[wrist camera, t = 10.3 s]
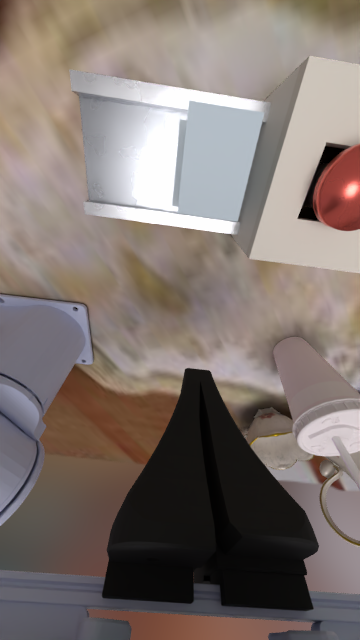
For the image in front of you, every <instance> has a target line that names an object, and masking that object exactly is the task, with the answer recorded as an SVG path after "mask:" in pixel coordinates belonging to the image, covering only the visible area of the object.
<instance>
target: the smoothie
mask: <svg viewBox="0 0 360 640" xmlns="http://www.w3.org/2000/svg"><path fill="white" fill-rule="evenodd" d="M273 355H274V358H275V362H276V365H277V368H278V372H279V375H280V379H281V382H282V385H283V389H284V392H285V395H286V399H287V402H288V405H289V409H290V413H291V416H292V419H293V422H294V424H293V428H292V432H293V434H294V437H295V438H296V440H297V443H298V445H299V447H300V448H301V449H303V450H304V451H306V452H308V453H310V454H314V455H319V456H340V455H341V457H342V459H343V461H344V462H345V464H346V466H347V468H348V470H349V471H350V473H351V475H352V477H353V479H354V480H355V482H356V484H357V486H358V488H359V489H360V471H359V469H358V468H357V466H356V464H355V463H354V461H353V459H352V457H351V456H350V454H351V453H355V452H358V451H360V394H359V393H358V392H357V391H356V390H355V389H354V388H353V387H352V386H351V385H350V384H349V383H348V382H347V381H346V380H345V379H344V378H343V377H342V376H341V375H340V374H339V373H338V372H337V371H336V370H335V369H334V368H333V367H332V366H331V365H330V364H329V363H328V362H327V361H326V360H325V359H324V358H323V357H322V356H321V355H320V354H319V353H318V352H317V351H315V350H314V349H313V348H312V347H311V346H310V345H309V344H308V343H307V342H306V341H305V340H304V339H303V338H300V337H289V338H286V339H283V340H282V341H280V342H279V343H278V344H277V345H276V346H275V347H274V350H273Z"/></svg>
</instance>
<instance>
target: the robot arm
mask: <svg viewBox="0 0 360 640" xmlns="http://www.w3.org/2000/svg"><path fill="white" fill-rule="evenodd" d="M2 299H3V300H4V301H3V300H2ZM74 307H76V308H78V310H77V309H75V308H74ZM93 361H94V359H93V352H92V344H91V336H90V328H89V321H88V313H87V307H86V306H85V305H84V304H80V303H71V302H63V301H54V300H46V299H37V298H28V297H20V296H11V295H3V294H0V525H1V524H3V523H4V522H5V521H6V520H7V519H8V518H9V517H10V516H11V515H12V514H13V513H14V512H15V511H16V510H17V508H18V507H19V506H20V505H21V504H22V502H23V501H24V500H25V498H26V497H27V496H28V494H29V493H30V491H31V489H32V488H33V486H34V485H35V483H36V480H37V479H38V477H39V474H40V471H41V469H42V466H43V462H44V455H45V453H44V447H43V445H42V443H41V442H40V441H39V439H40V437H41V435H42V433H43V432H44V430H45V428H46V425H45V424H44V423H43V421H42V418H43V416H44V414H45V413H46V411H47V409H48V408H49V406H50V404H51V403H52V401H53V399H54V398H55V396H56V394H57V393H58V391H59V389H60V387H61V386H62V384H63V382H64V381H65V379H66V377H67V376H68V374H69V372H70V371H71V369H72V367H73V366H74V364H75V363H79V364H92V363H93ZM318 547H319V545H318V542H317V539H316V537H315V534H314V531H313V528H312V526H311V524H310V522H309V519H308V517H307V515H306V513H305V511H304V510H303V509H302V508H301V507H300V506H299V505H298V503H297V502H295V500H294V499H293V498H292V497H291V496H290V495H289V494H288V492H287V491H286V490H285V489H284V488H283V487H282V486H281V485H280V483H279V482H278V481H277V480H276V479H275V477H274V476H273V475H272V474H271V473H270V471H269V470H268V469H267V468H266V466H265V465H264V464H263V462H262V461H261V460H260V459H259V457H258V456H257V455H256V453H255V452H254V451H253V449H252V448H251V446H250V445H249V444H248V442H247V441H246V439H245V438H244V436H243V435H242V433H241V432H240V430H239V428H238V427H237V425H236V423H235V422H234V420H233V418H232V417H231V415H230V413H229V411H228V409H227V408H226V406H225V404H224V402H223V400H222V398H221V396H220V393H219V391H218V389H217V387H216V384H215V382H214V380H213V377H212V374H211V372H210V371H209V370H199V369H190V368H187V369H185V373H184V378H183V383H182V388H181V394H180V397H179V400H178V403H177V405H176V408H175V410H174V413H173V415H172V417H171V420H170V422H169V424H168V426H167V428H166V430H165V432H164V434H163V436H162V438H161V440H160V442H159V444H158V446H157V447H156V449H155V451H154V453H153V454H152V456H151V458H150V459H149V461H148V463H147V464H146V466H145V468H144V469H143V471H142V473H141V474H140V476H139V477H138V479H137V480H136V482H135V483H134V485H133V486H132V488H131V489H130V491H129V492H128V494H127V496H126V498H125V500H124V502H123V504H122V506H121V508H120V510H119V512H118V514H117V516H116V519H115V521H114V523H113V526H112V529H111V533H110V538H109V542H108V547H107V552H108V556H109V562H108V567H107V572H106V577H95V576H80V575H66V574H65V575H64V574H50V573H36V572H21V571H6V570H0V640H130V636H131V626H130V625H129V622H128V621H122V620H113V619H104V618H89V613H88V611H87V609H102V610H119V611H134V612H151V613H167V614H184V615H199V616H200V615H201V616H217V617H233V618H250V619H265V620H281V621H298V622H313V624H312V627H311V631H292V630H289V631H287V632H281V633H270V634H269V636H268V638H269V640H360V594H346V593H331V592H317V591H308V587H307V584H306V580H305V577H304V575H307V570H306V567H305V564H304V561H303V560H304V559H305V558H307V557H309V556H311V555H313V554H315V553H316V552H317V551H318ZM193 572H194V573H193Z"/></svg>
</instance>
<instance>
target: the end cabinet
mask: <svg viewBox="0 0 360 640" xmlns="http://www.w3.org/2000/svg"><path fill="white" fill-rule="evenodd" d="M264 102H268V103H271V107H270V111H269V115H268V118H267V122H266V123H265V124H263V125H262V126H261V130H260V134H259V138H258V142H257V146H256V150H255V154H254V158H253V162H252V166H251V170H250V174H249V178H248V182H247V186H246V190H245V194H244V198H243V202H242V207H241V211H240V215H239V219H238V221H239V222H240V223H241V224H240V228H239V232H238V235H235V234H232V235H231V236H232V237H233V239H234V240H235V241H236V243H237V244H238V245H239V246H240V248H241V249H242V250H243V252H244V253H245V254H246V255H247V257H248V258H249V259H255V260H263V261H270V262H278V263H286V264H293V265H301V266H309V267H316V268H324V269H331V270H339V271H347V272H354V273H360V229H358V230H354V231H341V230H337V229H334V228H331V227H329V226H326V225H324V224H323V223H321V222H320V221H319V220H311V219H304V218H298V216H299V213H300V210H301V208H302V205H303V203H304V200H305V197H306V195H307V192H308V189H309V187H310V184H311V182H312V179H313V176H314V174H315V171H316V169H317V166H318V163H319V161H320V158H321V156H322V153H323V150H324V148H325V146H331V147H337V148H344V149H347V148H349V147H351V146H353V145H356V144H359V143H360V65H359V64H354V63H348V62H343V61H337V60H331V59H326V58H320V57H314V56H309V57H308V58H307V59H306V60H305V61H304V62H303V63H302V64H301V65H300V66H299V67H298V68H297V69H296V70H295V71H294V72H293V73H292V74H291V75H290V76H289V77H288V78H287V79H286V80H285V81H284V82H283V83H282V84H281V85H280V86H279V87H278V88H277V89H276V90H275V91H274V92H273V93H271V94H270V95H269V96H268V97H267V98H266V99H265V100H264Z"/></svg>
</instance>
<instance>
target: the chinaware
mask: <svg viewBox="0 0 360 640" xmlns="http://www.w3.org/2000/svg"><path fill="white" fill-rule="evenodd" d="M279 413H280V412H277V411H276V410H275V409H273V408H272V407H271V408H266V409H261V410H260V409H258V412H257V414H256V416H254V418H255V419H254V420H253V422H252V423H251V425H250V427H249V430H248V434H246V435H244V438H246V437H247V442H248V444H249V445H250V446H251V448H252V449H253V451H254V452H255V453H256V455H257V456H258V457H259V459H260V460H261V461H262V462H263V464H264V465H265V463H266V465H267V466H269V467H271V468H273V469H279V470H285V469H287V468H290V467H292V466H293V465H294V463H296V462H297V460H298V461H308V460H310V459H313V458H314V454H310V453H308V452H306V451H304V450H303V449H301V448H300V447H299V445H298V443H297V440H296V438H295V437H294V434H293V432H292V428H293V424H294V422H293V420H291V419H290V418H288V417H287V416H285V415H282V414H279ZM350 456H351V457H352V459H353V461H354V463H355V464H356V466H357V468H358V469H359V471H360V451H358V452H355V453H351V454H350ZM325 457H326V458H328V459H329V460H331V461H332V462H333V463H335V464H336V465H338V466H339V467H338V466H336V465H334V464H333V463H332V462H331V461H328V460H324V461H322V462H321V464H320V472H321V474H322V475H323V476H325V477H327V478H328V479H327V480H326V481H325V482H324V483H323V485H322V487H321V490H320V505H321V509H322V512H323V515H324V517H325V519H326V521H327V522H328V524H329V525H330V527H331V528H332V529H333V531H335V533H336V534H337V535H338V536H340V537H341V538H342V539H343V540H345V541H346V542H348V543H349V544H351V545H353V546H356V547H358V548H360V541H358V540H355V539H352V538H350V537H349V536H347V535H346V534H344V533H343V532H342V531H341V530H340V529H339V528H338V527H337V526H336V525H335V523H334V522H333V520H332V519H331V517H330V515H329V512H328V509H327V505H326V494H327V490H328V488H329V486H330V485H331V484H332V483H333V482H334V481H335V480H337V479H338V478H340V477H341V476H342V475H343V471H344V472H346V473H347V474H348V475H349V476H350V477H351V478H352V479H353V477H352V475H351V473H350V471H349V470H348V468H347V466H346V464H345V462H344V461H343V459H342V457H341V455H340V456H325ZM296 459H297V460H296ZM335 469H336V470H337V471H338V472H337V473H336V474H335V475H333V474H334V471H335ZM332 475H333V476H332ZM353 480H354V479H353ZM354 481H355V480H354ZM355 483H356V482H355Z"/></svg>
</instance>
